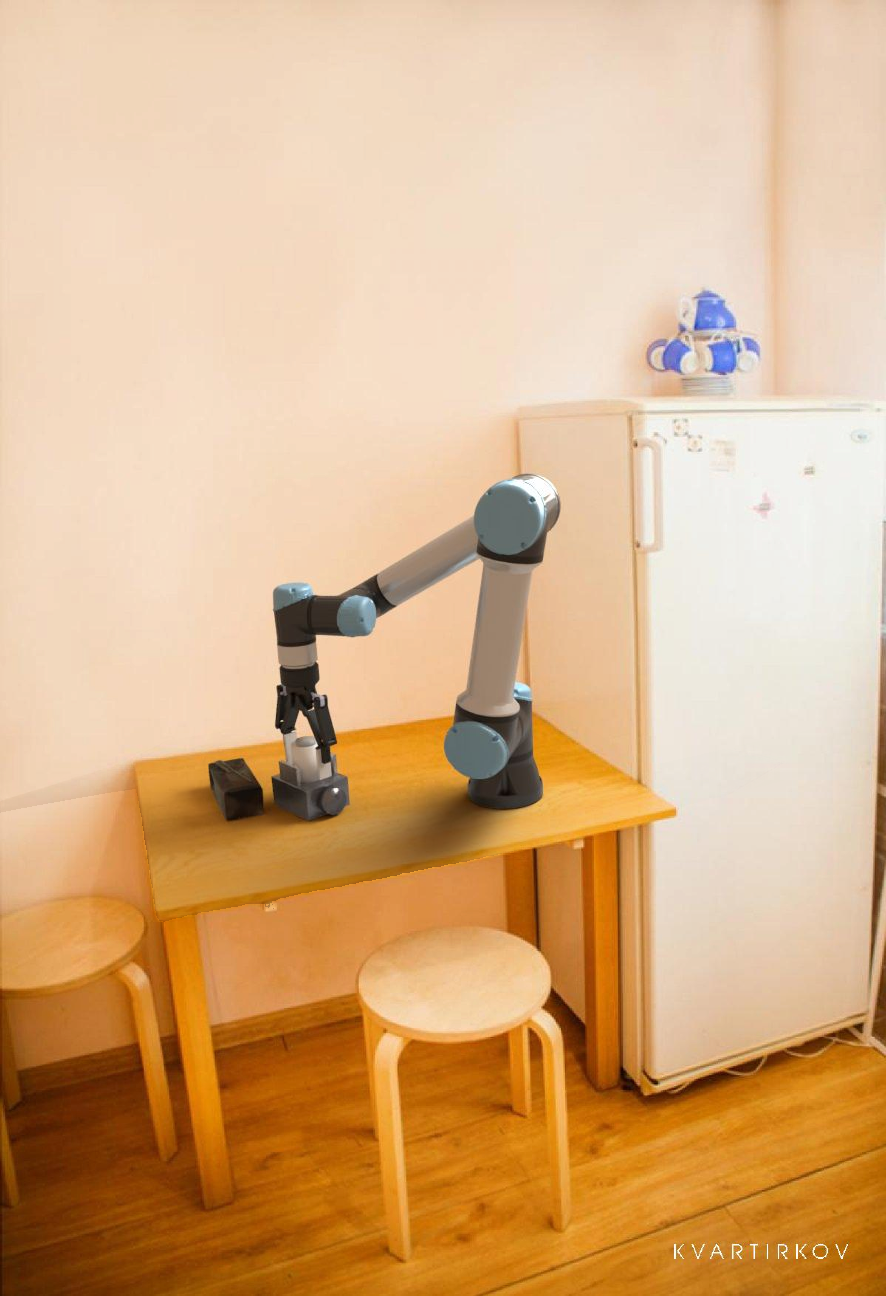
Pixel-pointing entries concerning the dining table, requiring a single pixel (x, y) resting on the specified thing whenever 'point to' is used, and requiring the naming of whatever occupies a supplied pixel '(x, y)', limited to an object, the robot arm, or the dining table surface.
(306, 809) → the motor
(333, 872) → the dining table surface
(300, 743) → the white cylindrical container
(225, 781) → the beverage carton
